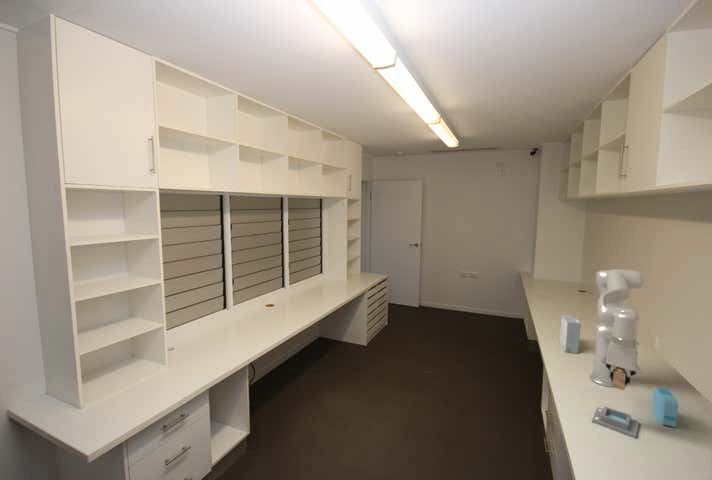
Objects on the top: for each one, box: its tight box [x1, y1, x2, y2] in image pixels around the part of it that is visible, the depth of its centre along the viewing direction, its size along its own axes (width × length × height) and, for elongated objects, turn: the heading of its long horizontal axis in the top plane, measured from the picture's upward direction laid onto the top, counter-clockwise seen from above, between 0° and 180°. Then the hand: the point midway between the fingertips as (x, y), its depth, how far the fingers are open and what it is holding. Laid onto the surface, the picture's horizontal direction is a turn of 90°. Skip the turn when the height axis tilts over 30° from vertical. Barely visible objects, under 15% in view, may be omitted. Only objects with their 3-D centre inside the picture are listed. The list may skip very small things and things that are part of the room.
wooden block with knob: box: [612, 367, 627, 391], centre depth 148 cm, size 4×4×8 cm
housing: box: [591, 406, 640, 439], centre depth 150 cm, size 13×15×4 cm
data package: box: [651, 387, 679, 428], centre depth 152 cm, size 12×4×12 cm, turn 156°
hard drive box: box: [559, 314, 582, 354], centre depth 225 cm, size 16×8×20 cm, turn 161°
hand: (619, 381), depth 148 cm, fingers closed on wooden block with knob, 4 cm apart
